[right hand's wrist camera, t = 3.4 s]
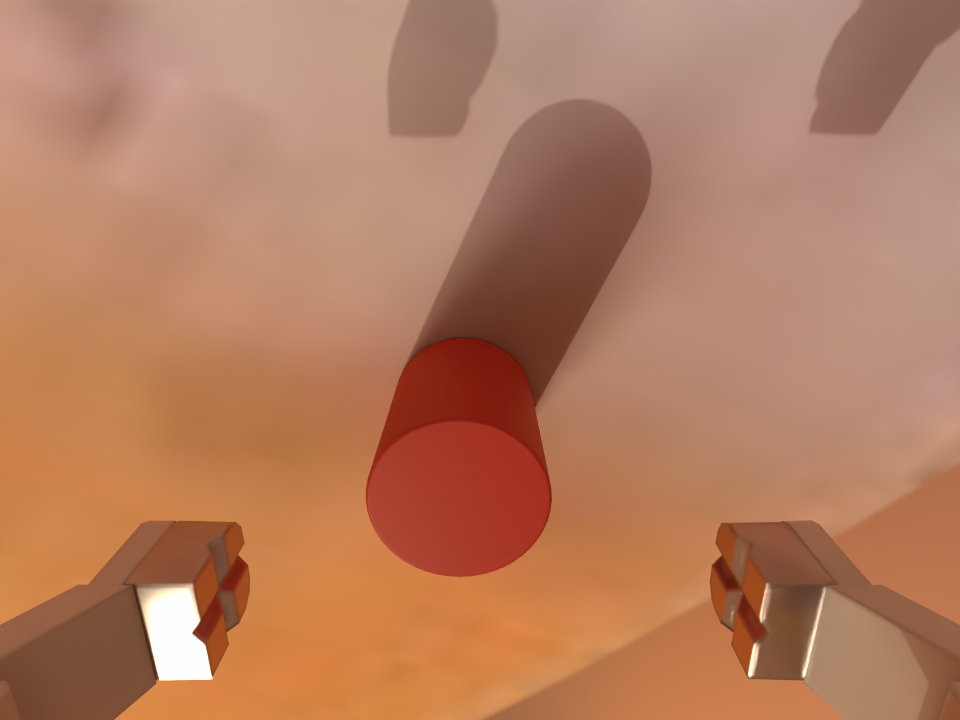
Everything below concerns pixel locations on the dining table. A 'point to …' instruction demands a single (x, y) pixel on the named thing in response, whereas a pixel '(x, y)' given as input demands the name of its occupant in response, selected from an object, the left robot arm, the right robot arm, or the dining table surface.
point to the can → (460, 462)
